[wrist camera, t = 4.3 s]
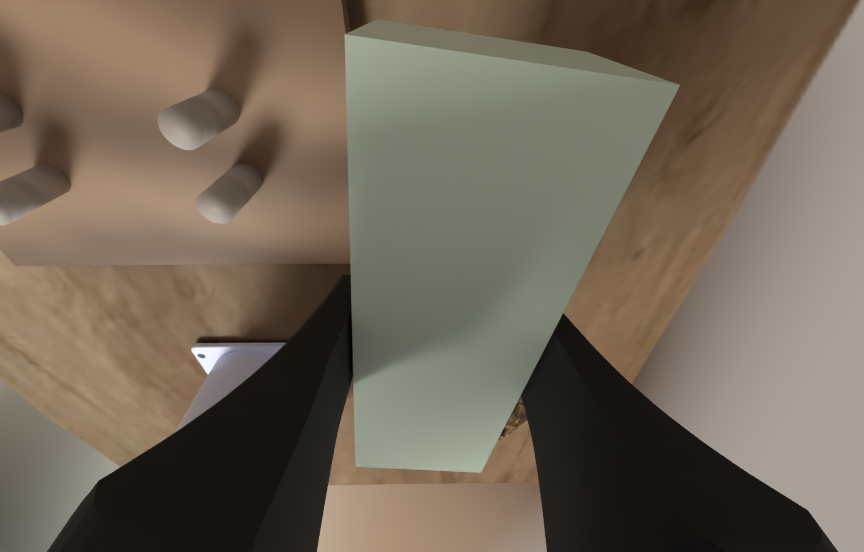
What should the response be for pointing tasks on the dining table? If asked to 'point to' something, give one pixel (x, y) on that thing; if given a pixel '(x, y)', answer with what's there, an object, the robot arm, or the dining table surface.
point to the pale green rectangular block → (473, 223)
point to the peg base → (173, 132)
